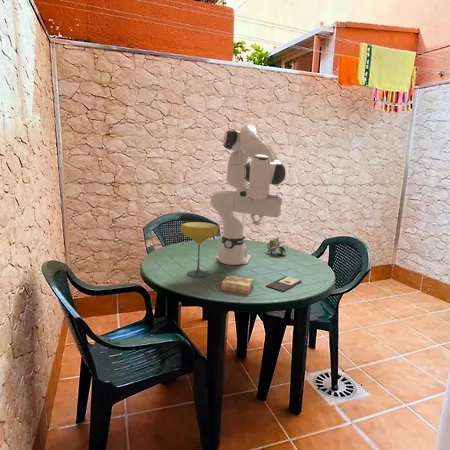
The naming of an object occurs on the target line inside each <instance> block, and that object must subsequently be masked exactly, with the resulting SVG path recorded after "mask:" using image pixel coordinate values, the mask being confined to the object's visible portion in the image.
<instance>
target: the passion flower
mask: <svg viewBox="0 0 450 450" xmlns="http://www.w3.org/2000/svg"><path fill="white" fill-rule="evenodd" d="M283 243H284V241H282V240H281V241H280V237H277V238H273V239H270V240H269V241H268V243H267V244H266V245H265V246H264V248H267V249H268V250H267V252H268V253H269V255H271V254H275V253H276V251H278V253H280V256H282V255H283V256H284V254H285V255H286V254H287V250H286V249H285V248H284V247H285V246H286V248H287V249H289V246H288V244H286V245H285V244H284V246H283V245H281V244H283Z"/></svg>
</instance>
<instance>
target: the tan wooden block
mask: <svg viewBox="0 0 450 450" xmlns="http://www.w3.org/2000/svg"><path fill="white" fill-rule="evenodd" d="M254 281H255V279H254V278H249V277H248V278H247V277H242V276H237V275H235V276H234V275H229V274H228V275H227V276H226V277H225V278H224V279H222V281H221V290H223V291H228V292H229V291H230V292H235V293H239V294H240V293H241V294H247V295H249V293H250V292H251V291H252V289H253V288H254Z"/></svg>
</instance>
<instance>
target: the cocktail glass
mask: <svg viewBox="0 0 450 450" xmlns="http://www.w3.org/2000/svg"><path fill="white" fill-rule="evenodd" d="M219 228H220V227H219V224H218V223H217V222H214V221H209V220H198V219H196V220H185V221H182V222H181V223H180V232H181V234H183V235H184V236H186V237H188V238H189V239H192V240H193V241H194V242H195V243H196V244H197V245H198V247H197V251H198V252H197V265H196V266H197V267H196V269H192V270H191V269H190V270H188V271H187V273H186V275H187V276H188V277H191V278H195V279H196V278H197V279H198V278H200V279H201V278H206V277H208V276H209V275H210V272H208V271H207V270H203V269H200V247H201V246H200V245H202V244H203V243H204V242H205V241H206V240H208V239H211V238H213V237H214V236H217V234H218V233H219V231H220V230H219Z"/></svg>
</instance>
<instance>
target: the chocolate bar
mask: <svg viewBox="0 0 450 450" xmlns="http://www.w3.org/2000/svg"><path fill="white" fill-rule="evenodd" d="M301 281H302V280H299V279H297V278H293V277H289V276H283V277H281V278H279V279H277V280H275V281H273V282H271V283H268V284H267V285H265V287H266V288H269V289H273V290H276V291H278V292H281V293H284V291H285V292H287V291H288V290H290V289H292V288H294V287H295V286H294V285H296V284H298V283H299V282H301ZM301 283H302V282H301ZM299 284H300V283H299ZM299 284H298V285H299ZM293 286H294V287H293ZM296 286H297V285H296ZM291 287H292V288H291ZM289 288H290V289H289ZM286 290H287V291H286Z"/></svg>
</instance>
